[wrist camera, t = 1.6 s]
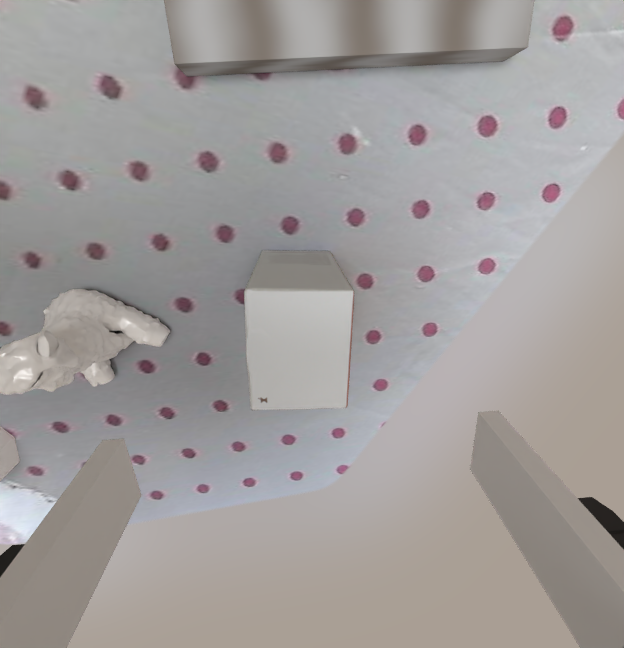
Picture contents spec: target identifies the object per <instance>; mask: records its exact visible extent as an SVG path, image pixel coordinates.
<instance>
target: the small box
mask: <svg viewBox="0 0 624 648" xmlns="http://www.w3.org/2000/svg"><path fill="white" fill-rule="evenodd" d="M244 304H245V330H246V359H247V370H248V378H249V393H250V406H251V410H288V409H329V408H346V407H347V405H348V390H349V375H350V358H351V341H352V323H353V306H354V290H353V289H352V287H351V286H350V284H349V282H348V281H347V279H346V277H345V276H344V274H343V272H342V270H341V269H340V267H339V265H338V264H337V262H336V260H335V259H334V257H333V255H332V254H331V252H330V251H271V250H264V251H261V254H260V256H259V259H258V261H257V263H256V265H255V268H254V270H253V272H252V274H251V277H250V279H249V281H248V284H247V286H246V288H245V291H244Z"/></svg>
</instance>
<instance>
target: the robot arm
mask: <svg viewBox="0 0 624 648" xmlns="http://www.w3.org/2000/svg"><path fill="white" fill-rule="evenodd" d="M470 470H471V471H472V473H473V475H474V476H475V478H476V479H477V481H478V483H479V484H480V486H481V488H482V489H483V491H484V492H485V494H486V496H487V497H488V499H489V501H490V502H491V504H492V506H493V507H494V509H495V510H496V512H497V514H498V515H499V517H500V519H501V520H502V522H503V523H504V525H505V527H506V528H507V530H508V532H509V533H510V535H511V536H512V538H513V540H514V541H515V543H516V544H517V546H518V548H519V549H520V551H521V553H522V554H523V556H524V557H525V559H526V561H527V562H528V564H529V566H530V567H531V569H532V571H533V572H534V574H535V575H536V577H537V579H538V580H539V582H540V583H541V585H542V587H543V588H544V590H545V592H546V593H547V595H548V596H549V598H550V599H551V601H552V603H553V605H554V606H555V608H556V609H557V611H558V613H559V614H560V616H561V617H562V619H563V621H564V622H565V624H566V626H567V627H568V629H569V631H570V632H571V634H572V635H573V637H574V639H575V640H576V642H577V644H578V645H579V647H580V648H624V522H623V521H622V520H621V519H620V518H619V517H618V516H617V515H616V514H615V513H614V512H613V511H612V510H610V509H609V508H607V507H606V506H604V505H602V504H601V503H600V502H598V501H597V500H595V499H594V498H592V497H587V498H577V497H576V496H575V495H574V494H573V493H572V492H571V491H570V489H569V488H568V487H567V486H566V485H565V484H564V483H563V482H562V481H561V479H560V478H559V477H558V476H557V475H556V474H555V473H554V472H553V471H552V469H550V467H549V466H548V465H547V464H546V463H545V462H544V461H543V459H541V457H540V456H539V455H538V454H537V453H536V452H535V451H534V449H533V448H532V447H531V446H530V445H529V444H528V443H527V442H526V441H525V440H524V438H523V437H522V436H521V435H520V434H519V433H518V432H517V431H516V430H515V428H514V427H513V426H512V425H511V424H510V423H509V422H508V421H507V419H506V418H505V417H504V416H503V415H502V414H501V413H500V412H499V411H488V412H478V418H477V425H476V433H475V440H474V446H473V453H472V460H471V467H470ZM140 497H141V492H140V489H139V486H138V483H137V479H136V476H135V473H134V470H133V467H132V463H131V460H130V457H129V454H128V451H127V447H126V444H125V441H124V439H113V440H102V442H101V443H100V444H99V446H98V447H97V448H96V450H95V451H94V452H93V454H92V455H91V456H90V458H89V459H88V460H87V462H86V463H85V464H84V466H83V467H82V469H81V470H80V471H79V473H78V474H77V475H76V477H75V478H74V479H73V481H72V482H71V483H70V485H69V486H68V487H67V489H66V490H65V491H64V493H63V494H62V495H61V497H60V498H59V499H58V501H57V502H56V503H55V505H54V506H53V507H52V509H51V510H50V511H49V513H48V514H47V515H46V517H45V518H44V520H43V521H42V522H41V524H40V525H39V526H38V528H37V529H36V530H35V532H34V533H33V534H32V536H31V537H30V538H29V540H28V541H27V542H26V544H21V545H12V546H11V547H10V548H9V549H7V550H6V551H5V552H4V553H3V554H2V555H0V648H67V646H68V644H69V642H70V640H71V638H72V636H73V634H74V632H75V630H76V628H77V626H78V624H79V622H80V620H81V617H82V615H83V613H84V611H85V609H86V607H87V605H88V603H89V601H90V599H91V597H92V595H93V593H94V591H95V589H96V587H97V585H98V583H99V581H100V579H101V577H102V575H103V572H104V570H105V568H106V566H107V564H108V562H109V560H110V558H111V556H112V554H113V552H114V550H115V548H116V546H117V544H118V542H119V540H120V538H121V536H122V534H123V532H124V530H125V527H126V526H127V524H128V521H129V519H130V517H131V515H132V513H133V511H134V509H135V507H136V505H137V503H138V501H139V499H140Z"/></svg>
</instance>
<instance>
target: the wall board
mask: <svg viewBox="0 0 624 648" xmlns="http://www.w3.org/2000/svg"><path fill="white" fill-rule="evenodd" d="M164 3H165V9H166V15H167V21H168V27H169V33H170V39H171V46H172V52H173V58H174V64H175V65H176V66H177V67H178V68H179V69H180V70H181V71H182V72H183V73H184V74H185V75H186V76H207V75H228V74H248V73H269V72H290V71H311V70H332V69H352V68H373V67H394V66H415V65H436V64H456V63H477V62H498V61H505V60H507V59H508V58H510V57H512V56H514V55H515V54H517V53H519V52H520V51H522V50H524V49H526V48H527V47H528V42H529V35H530V28H531V21H532V14H533V7H534V0H164Z"/></svg>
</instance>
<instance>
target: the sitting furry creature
mask: <svg viewBox="0 0 624 648" xmlns="http://www.w3.org/2000/svg"><path fill="white" fill-rule="evenodd" d="M43 311H44V314H45V315H46V316H45V319H44V320H45V323H44V325H43V326H44V328H42V331H41V332H39V333H36V334H34V335H31V336H28V337H26V338H24V339H21V340H16V341H13V342H12V343H9V344H6V345H4V346H2V347H1V349H0V393H1V394H5V395H10V394H15V393H17V394H22V393H24V392H28V391H30V390H32V389H34V388H36V389H45V390H46V391H48V392H53V391H55V389H56V388H59V387H61V386H63V385H68V384H70V383H71V382H72V381H73V380H74V374H76V373H77V372H81V373H82V374H84V376H85V379H86V380H88V381H89V382H90V383H91V385H92V386H93V387H95V386H97V385H98V384H101V385H103V384H105V383H108V382H110V381H111V380H113V379H114V378H115V375H114V372H113V370H112V368H111V366H110V363H111V362H110V360H109V359H111V358H113V357H115V356H117V354H118V352H119V351H121V350H122V349H126V348H127V347H128V346H129V345H130V344H131V343H132V342H134V341H136V342H137V343H138V344H146V345H152V346H155V347H161V346H162V345H163V343H164V342H165V340H166V339H167V337H168V335H169V333H170V330H169V329H168V328H167V327H166V326H165V325H164V324H162V323H161V322H160V321H159V318H156V319H154V318H152V316H151V315H146V314H143V312H142V311H138V310H137V309H135V308H134V307H131V306H126V305H124V304H123V302H122V301H116V300H114V299H113V298H110V297H109V296H107V295H105V294H104V293H99V292H98V291H96V290H90V291H87V290H85V289H71V290H68V291H67V292H66V293H60V294H59V296H58V297H57V298H54V299H52V302H51V304H50V306H49V307H47V308H46V309H45V310H43ZM112 331H121V332H120V333H118V334H116V333H114V332H112Z"/></svg>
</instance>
